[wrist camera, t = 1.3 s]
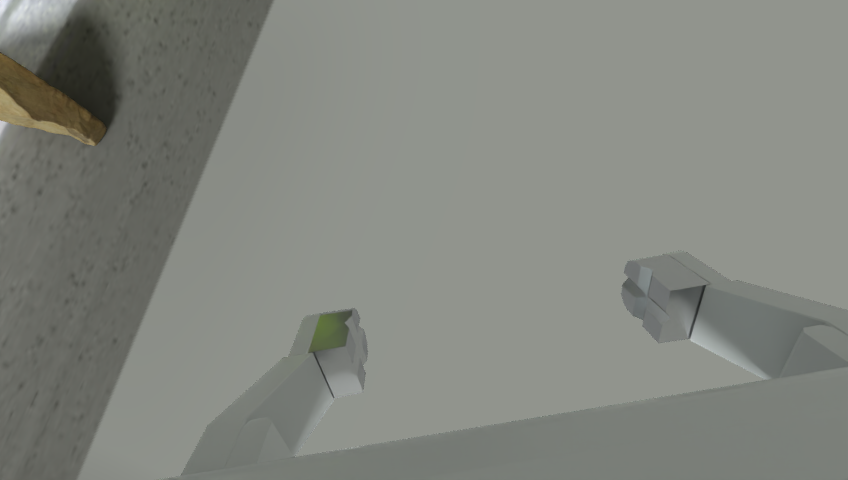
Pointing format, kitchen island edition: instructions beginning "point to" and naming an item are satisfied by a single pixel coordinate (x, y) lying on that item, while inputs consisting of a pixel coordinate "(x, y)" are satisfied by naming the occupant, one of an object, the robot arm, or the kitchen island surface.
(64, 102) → the rock
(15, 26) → the kitchen island surface
